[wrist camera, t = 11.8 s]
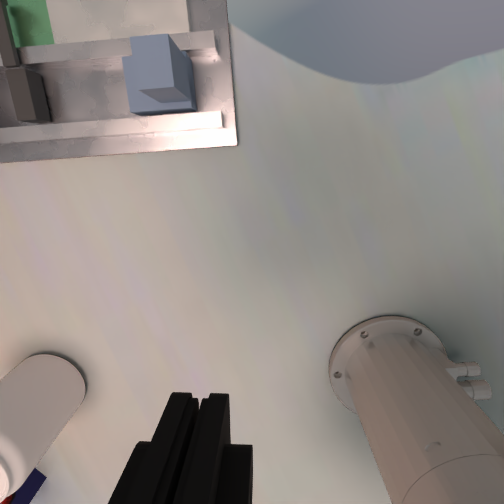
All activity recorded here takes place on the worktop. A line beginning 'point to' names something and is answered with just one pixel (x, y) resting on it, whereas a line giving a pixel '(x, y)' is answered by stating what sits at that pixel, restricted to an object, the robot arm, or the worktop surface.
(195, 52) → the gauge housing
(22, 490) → the cereal box
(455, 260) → the worktop surface
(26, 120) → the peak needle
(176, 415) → the robot arm
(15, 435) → the beverage can
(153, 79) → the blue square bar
